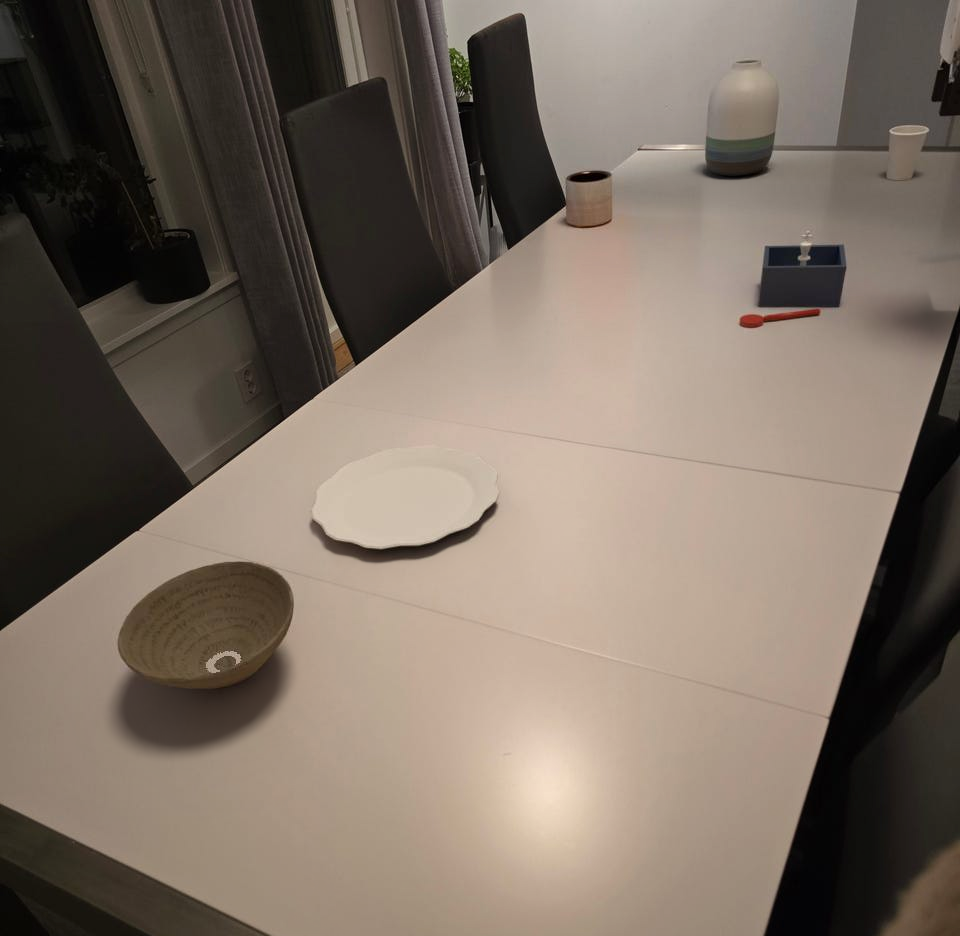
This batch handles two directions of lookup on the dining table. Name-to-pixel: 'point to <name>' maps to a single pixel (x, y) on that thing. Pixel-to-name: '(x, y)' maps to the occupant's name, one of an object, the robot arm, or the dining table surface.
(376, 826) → the dining table surface
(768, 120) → the vase
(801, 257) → the chess piece
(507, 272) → the dining table surface
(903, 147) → the dixie cup
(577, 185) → the planter
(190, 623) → the bowl
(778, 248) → the bin
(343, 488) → the plate
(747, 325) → the red spoon
